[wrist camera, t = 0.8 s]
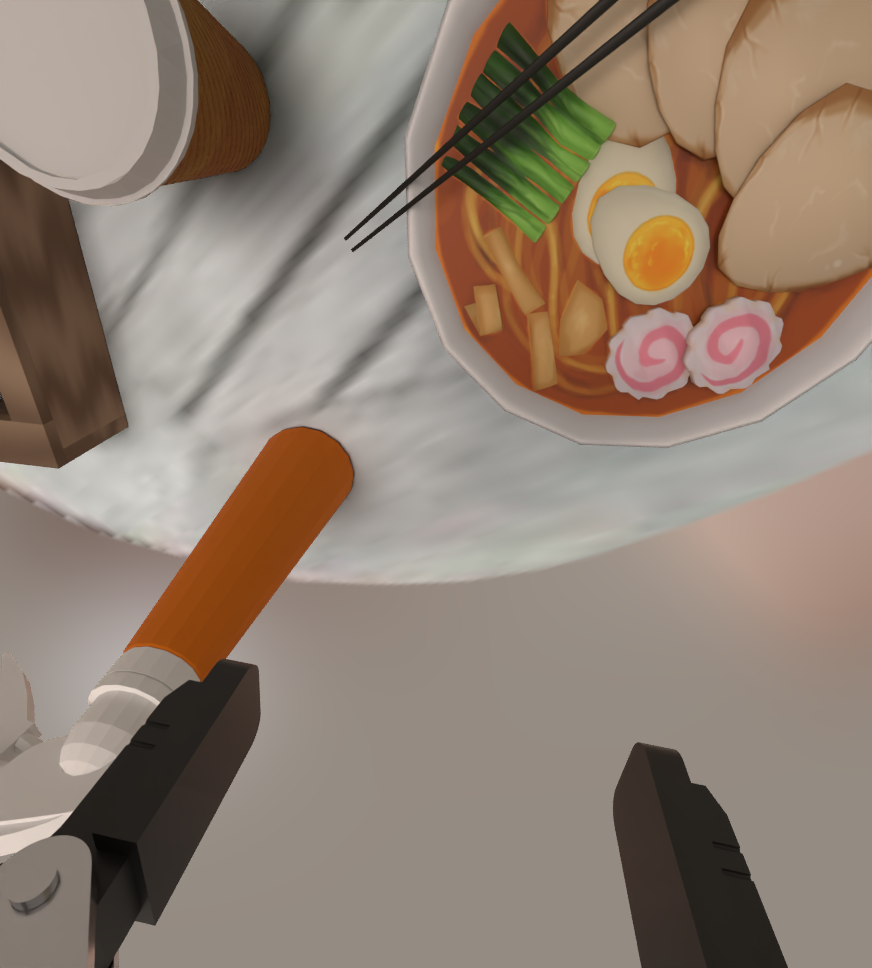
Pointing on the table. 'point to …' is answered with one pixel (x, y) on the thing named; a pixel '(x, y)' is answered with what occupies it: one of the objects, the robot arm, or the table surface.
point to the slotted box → (49, 334)
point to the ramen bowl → (644, 207)
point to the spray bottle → (172, 632)
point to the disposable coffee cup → (125, 96)
